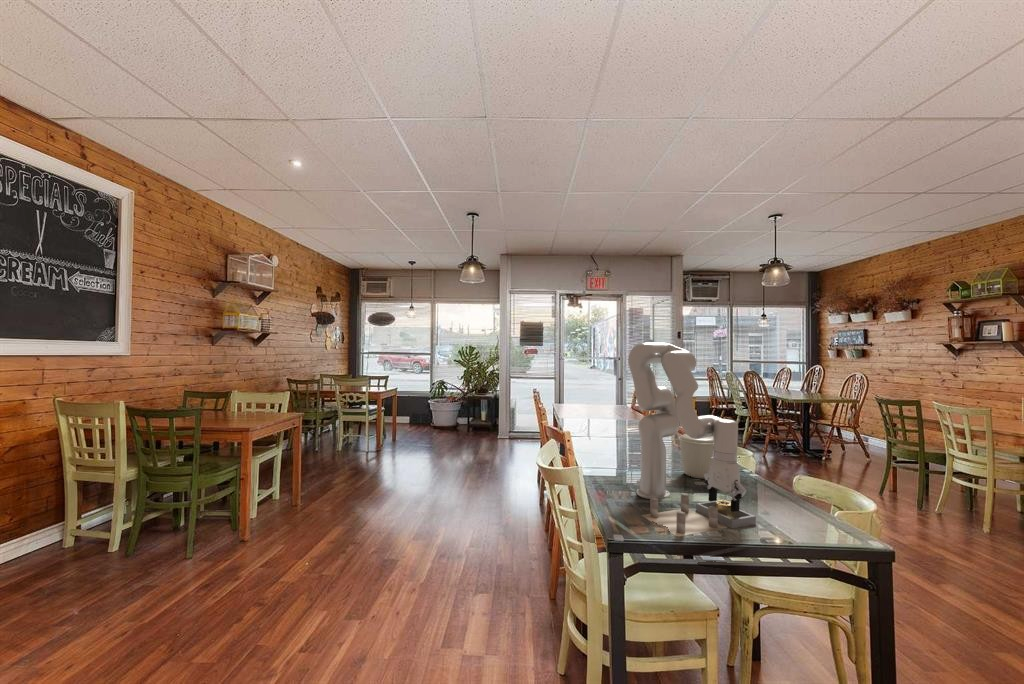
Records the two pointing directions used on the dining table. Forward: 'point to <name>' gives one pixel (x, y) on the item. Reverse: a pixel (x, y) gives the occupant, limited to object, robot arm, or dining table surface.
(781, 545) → the dining table surface
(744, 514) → the tray
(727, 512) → the tan faceted piece
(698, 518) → the spacer board
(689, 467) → the canister
